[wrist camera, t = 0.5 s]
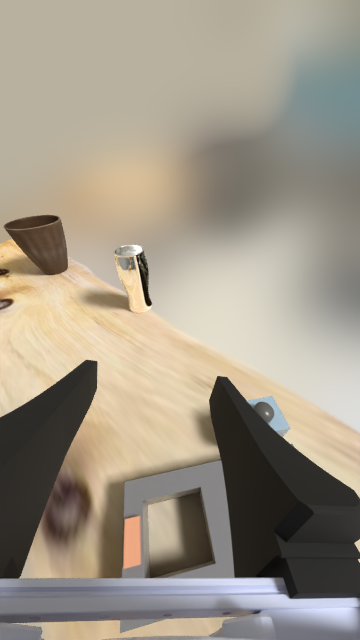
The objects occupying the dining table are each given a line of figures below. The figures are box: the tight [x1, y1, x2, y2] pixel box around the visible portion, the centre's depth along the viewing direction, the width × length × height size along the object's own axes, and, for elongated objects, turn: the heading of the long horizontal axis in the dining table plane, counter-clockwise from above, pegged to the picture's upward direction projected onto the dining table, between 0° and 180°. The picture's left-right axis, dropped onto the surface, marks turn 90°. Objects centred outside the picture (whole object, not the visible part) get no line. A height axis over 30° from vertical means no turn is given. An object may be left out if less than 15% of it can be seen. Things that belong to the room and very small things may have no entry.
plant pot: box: [4, 215, 68, 275], centre depth 64 cm, size 15×15×16 cm
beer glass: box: [113, 244, 152, 313], centre depth 46 cm, size 7×7×15 cm
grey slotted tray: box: [120, 444, 294, 633], centre depth 20 cm, size 9×20×4 cm, turn 100°
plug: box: [247, 396, 290, 437], centre depth 25 cm, size 4×5×7 cm
